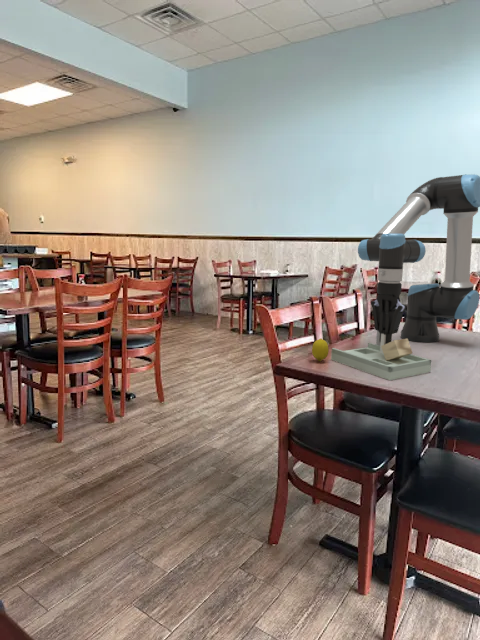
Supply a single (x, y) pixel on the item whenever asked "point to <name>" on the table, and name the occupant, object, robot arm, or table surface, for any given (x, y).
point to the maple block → (396, 349)
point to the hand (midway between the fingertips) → (384, 352)
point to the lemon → (320, 349)
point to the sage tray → (382, 362)
